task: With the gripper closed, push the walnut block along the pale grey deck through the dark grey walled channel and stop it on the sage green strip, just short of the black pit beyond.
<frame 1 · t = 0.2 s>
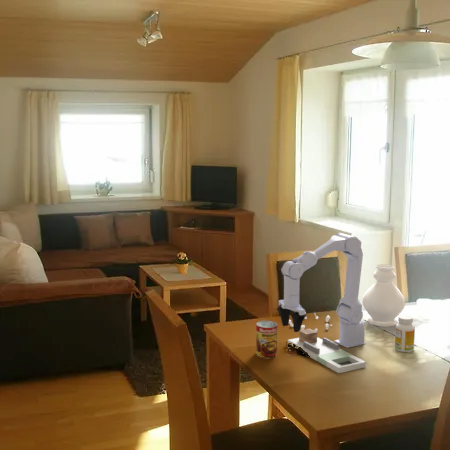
hand: (291, 328, 238), 10 cm above the table, tool pointing down, fingers open, 7 cm apart
game piece set: (310, 325, 273), on the table
deck: (324, 355, 238), on the table
block: (307, 341, 247), point 2 cm above the table, touching deck
canned food: (266, 354, 239), on the table
supplement bottle: (404, 349, 244), on the table
decorative vase: (382, 322, 277), on the table
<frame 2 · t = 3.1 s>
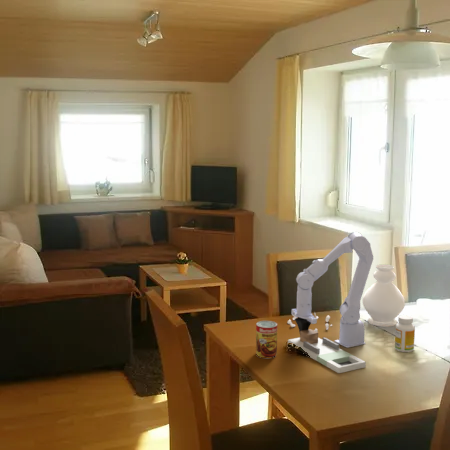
hand: (303, 336, 250), 3 cm above the table, tool pointing down, fingers closed
block: (308, 341, 247), point 2 cm above the table, touching gripper
everything else where it was.
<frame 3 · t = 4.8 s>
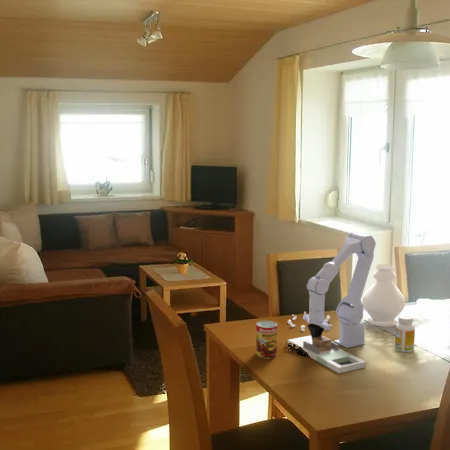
hand: (315, 342, 243), 3 cm above the table, tool pointing down, fingers closed
block: (321, 348, 239), point 2 cm above the table, touching gripper
everything else where it was.
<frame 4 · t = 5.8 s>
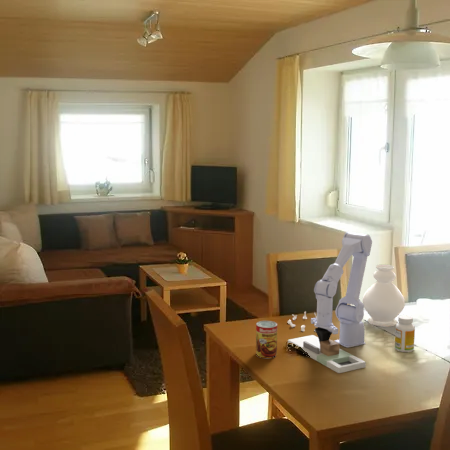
hand: (323, 346, 238), 3 cm above the table, tool pointing down, fingers closed
block: (329, 352, 235), point 2 cm above the table, touching gripper
everything else where it was.
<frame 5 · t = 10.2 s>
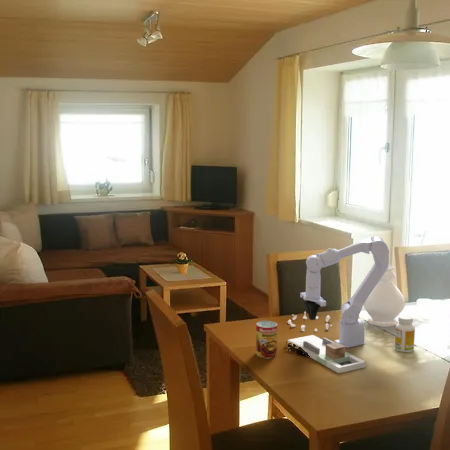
hand: (312, 319, 250), 9 cm above the table, tool pointing down, fingers closed
block: (335, 356, 232), point 2 cm above the table, touching deck
everything else where it was.
at the end: block 0.3 cm from the target spot, point 2.0 cm above the table; block tilted 0° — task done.
